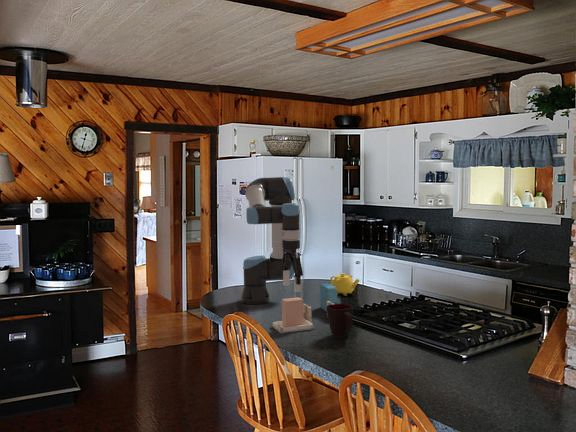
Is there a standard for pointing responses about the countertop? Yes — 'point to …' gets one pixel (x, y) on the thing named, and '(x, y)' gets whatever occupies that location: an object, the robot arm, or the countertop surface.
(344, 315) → the cup
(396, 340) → the countertop surface
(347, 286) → the teapot
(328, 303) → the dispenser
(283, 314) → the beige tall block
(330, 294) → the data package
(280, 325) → the tray
